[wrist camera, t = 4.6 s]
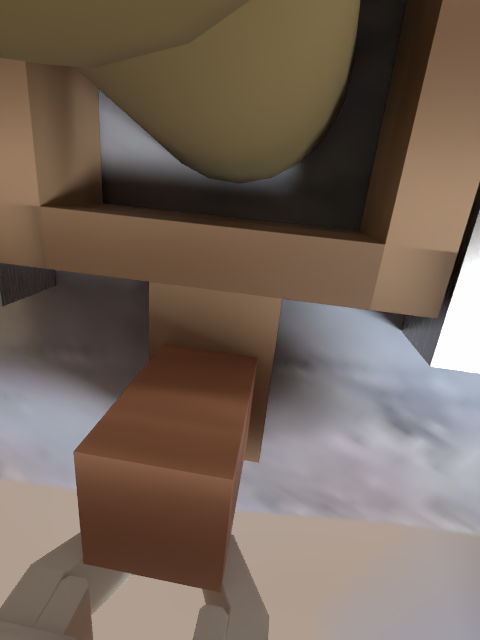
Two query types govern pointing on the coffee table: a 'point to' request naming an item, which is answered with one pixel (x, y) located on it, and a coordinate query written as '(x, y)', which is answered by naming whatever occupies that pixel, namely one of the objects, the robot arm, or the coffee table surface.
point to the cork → (203, 70)
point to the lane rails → (423, 332)
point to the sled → (229, 285)
